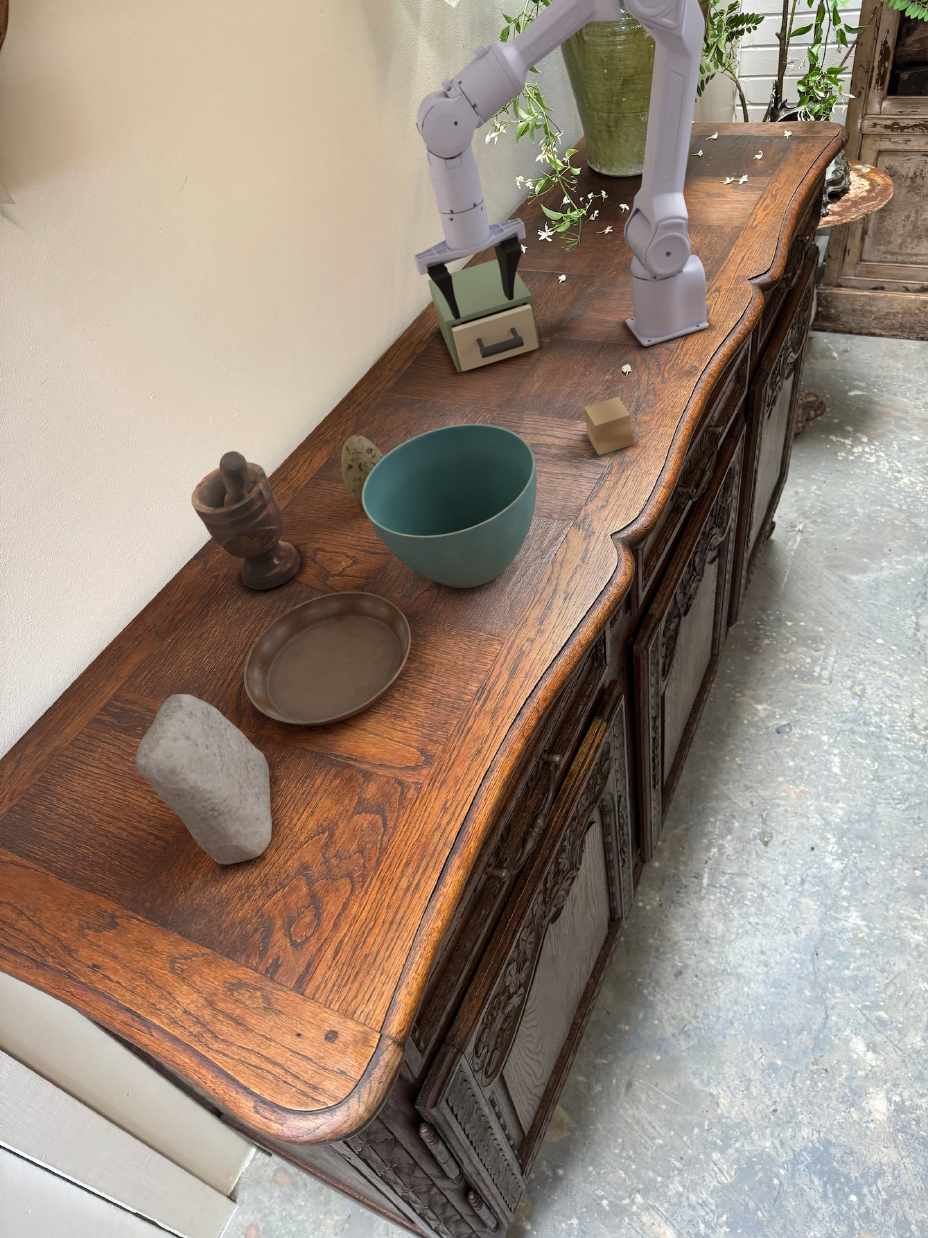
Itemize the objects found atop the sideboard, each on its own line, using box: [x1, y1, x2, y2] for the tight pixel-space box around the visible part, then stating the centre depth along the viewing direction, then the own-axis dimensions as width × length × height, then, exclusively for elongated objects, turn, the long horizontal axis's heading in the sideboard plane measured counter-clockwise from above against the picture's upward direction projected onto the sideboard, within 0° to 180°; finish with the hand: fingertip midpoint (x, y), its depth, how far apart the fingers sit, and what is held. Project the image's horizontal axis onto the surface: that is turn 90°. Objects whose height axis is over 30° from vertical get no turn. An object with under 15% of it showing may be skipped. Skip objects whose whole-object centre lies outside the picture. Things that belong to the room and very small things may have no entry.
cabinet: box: [427, 258, 541, 373], centre depth 125 cm, size 15×13×8 cm
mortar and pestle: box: [191, 450, 301, 591], centre depth 93 cm, size 12×9×20 cm
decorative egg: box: [340, 434, 385, 507], centre depth 102 cm, size 6×6×10 cm
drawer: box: [452, 303, 539, 372], centre depth 122 cm, size 18×11×6 cm, turn 12°
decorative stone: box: [134, 693, 273, 865], centre depth 72 cm, size 11×6×15 cm, turn 5°
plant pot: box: [362, 423, 538, 589], centre depth 90 cm, size 18×18×12 cm
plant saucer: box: [243, 591, 412, 726], centre depth 86 cm, size 18×18×3 cm
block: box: [583, 396, 634, 456], centre depth 102 cm, size 4×4×4 cm
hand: (482, 306), depth 113 cm, fingers open, 7 cm apart
